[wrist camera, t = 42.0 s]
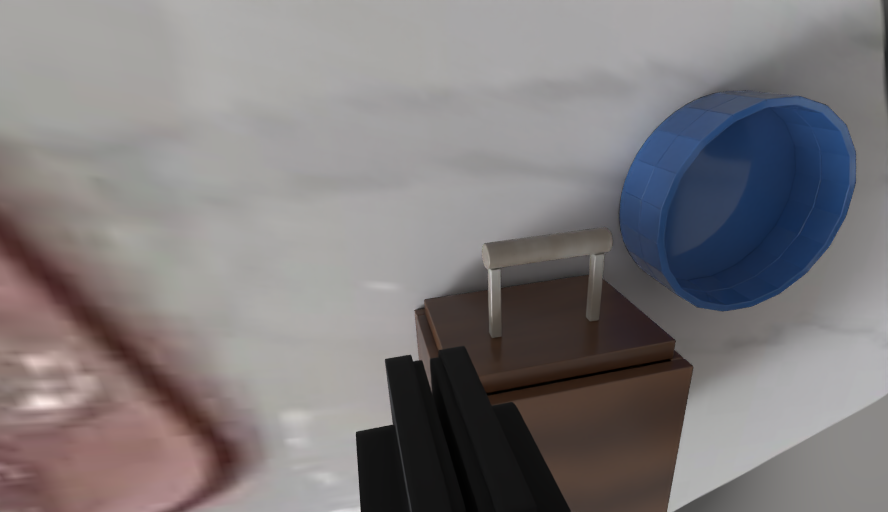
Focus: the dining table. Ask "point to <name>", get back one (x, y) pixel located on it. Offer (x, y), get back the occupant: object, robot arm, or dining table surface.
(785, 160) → the bowl
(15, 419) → the dining table surface
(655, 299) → the dining table surface
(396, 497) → the robot arm
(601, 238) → the drawer
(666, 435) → the cabinet
